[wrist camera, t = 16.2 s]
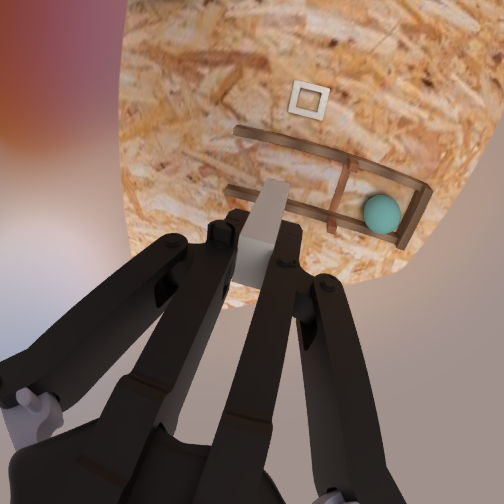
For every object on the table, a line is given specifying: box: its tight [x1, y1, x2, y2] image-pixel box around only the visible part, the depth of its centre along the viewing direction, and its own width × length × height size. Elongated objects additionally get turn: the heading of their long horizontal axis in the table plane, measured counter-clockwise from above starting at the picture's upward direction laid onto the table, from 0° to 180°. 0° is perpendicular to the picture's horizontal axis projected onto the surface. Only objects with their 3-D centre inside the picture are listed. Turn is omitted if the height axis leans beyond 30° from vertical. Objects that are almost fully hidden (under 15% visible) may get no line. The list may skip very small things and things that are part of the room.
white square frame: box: [288, 80, 330, 121], centre depth 32 cm, size 5×5×2 cm
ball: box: [363, 195, 401, 234], centre depth 38 cm, size 6×6×6 cm
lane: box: [225, 125, 433, 250], centre depth 38 cm, size 31×11×5 cm, turn 80°
